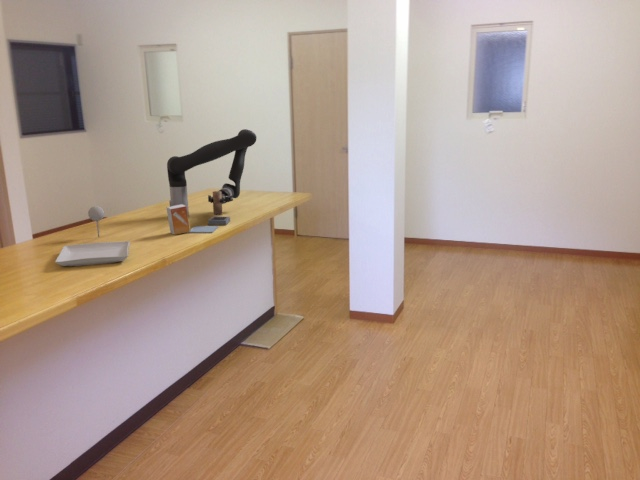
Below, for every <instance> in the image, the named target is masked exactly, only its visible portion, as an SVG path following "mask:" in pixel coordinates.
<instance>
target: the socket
mask: <svg viewBox="0 0 640 480" xmlns="http://www.w3.org/2000/svg"><path fill="white" fill-rule="evenodd" d="M230 222H231V217H230V216H211V217H210V218H209V219H207V226H226V225H228V224H229V223H230Z"/></svg>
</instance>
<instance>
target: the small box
mask: <svg viewBox="0 0 640 480" xmlns="http://www.w3.org/2000/svg"><path fill="white" fill-rule="evenodd" d="M166 213H167V219H168V225H169V231H170V234H172V235H174V236H176V235H180V234H184V233H188V232H190V230H191V229H190V224H189V223H190V222H189V216H188V214H187V208H186V206H185V205H183V204H181V205H175V206H171V207H170V206H167V207H166Z"/></svg>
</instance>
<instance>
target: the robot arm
mask: <svg viewBox="0 0 640 480" xmlns="http://www.w3.org/2000/svg"><path fill="white" fill-rule="evenodd" d="M256 141H257V135H256V133H255V132H254V131H252V130H249V129H247V128H246V129H244V128H243V129H240V131H239V132H238V134H236V136H233V137H230V138H225V139H221V140H216V141H213V142H210V143H208V144H205V145H203V146H201V147H199V148H198V149H196V150H194V151H193V152H190V153H189V154H186V155H185V154H184V155H181V156H175V155H174V156H172V157H170V158H169V159H168V160H167V163H166V170H167V178H168V183H169V196H170V200H169V201H168V202H169V207H171V206H175V205H181V204H183V205H185V206H186V208H187V214H188V217H189V216H190V212H189V199H188V186H187V179H186V172H187V171H188V170H190V169H193V168H194V167H197V166H201V165H203V164H207V163H209V162H212V161H214V160H217V159H220V158H223V157H226V156H227V155H229V154H231V153H233V152H234V156H233V158H232V159H233V160H232V164H231V167H230V171H229V174H228V179H229V180H230V181H232V182H234V184H231V183H224V184H223V185H222V187H221V188H220V189H218V191H221V192H222V198H221V199H220V203H222V205H224V204H226V203H230V202H232V201H234V199H237V198H238V197H239V196H240V194H241V179H242V177H243V172H244V169H245V160H246V159H245V158H246V154H247V150H248V148H249V147H252V146H253V145H255V144H256ZM207 200H208V202H209V203H210V204H213V196H212V195H207Z"/></svg>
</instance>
